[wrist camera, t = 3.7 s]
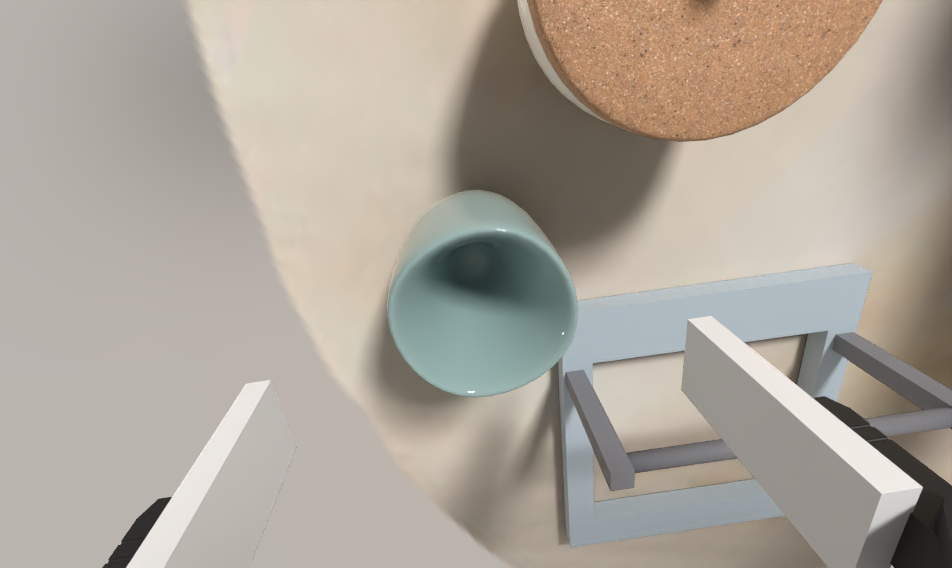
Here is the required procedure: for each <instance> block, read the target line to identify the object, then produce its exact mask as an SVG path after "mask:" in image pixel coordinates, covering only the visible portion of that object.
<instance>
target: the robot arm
mask: <svg viewBox="0 0 952 568" xmlns="http://www.w3.org/2000/svg"><path fill="white" fill-rule="evenodd" d="M681 390H682V391H683V393H684V394H685V395H686V396H687V397H688V399H689V400H690V401H691V402H692V403H693V405H694V406H695V407H696V408H697V409H698V411H699V412H700V413H701V414H702V416H703V417H704V418H705V419H706V420H707V422H708V423H709V424H710V425H711V426H712V428H713V429H714V430H715V431H716V432H717V434H718V435H719V436H720V437H721V439H722V440H723V441H724V442H725V443H726V445H727V446H728V447H729V448H730V449H731V451H732V452H733V453H734V454H735V455H736V457H737V458H738V459H739V460H740V461H741V463H742V464H743V465H744V466H745V468H746V469H747V470H748V471H749V472H750V474H751V475H752V476H753V477H754V478H755V480H756V481H757V482H758V483H759V484H760V486H761V487H762V488H763V489H764V491H765V492H766V493H767V494H768V495H769V497H770V498H771V499H772V500H773V501H774V503H775V504H776V505H777V506H778V507H779V509H780V510H781V511H782V512H783V513H784V515H785V516H786V517H787V518H788V520H789V521H790V522H791V523H792V524H793V526H794V527H795V528H796V529H797V530H798V532H799V533H800V534H801V535H802V536H803V538H804V539H805V540H806V541H807V543H808V544H809V545H810V546H811V547H812V549H813V550H814V551H815V552H816V553H817V555H818V556H819V557H820V558H821V559H822V561H823V562H824V563H825V564H826V565H827V567H828V568H890V567H891V565H892V566H893V567H894V568H952V486H951V485H950V484H949V483H948V482H946V481H945V480H944V479H942V478H941V477H940V476H938V475H937V474H936V473H934V472H933V471H932V470H930V469H929V468H928V467H927V466H925V465H924V464H923V463H921V462H920V461H919V460H917V459H916V458H915V457H913V456H912V455H911V454H909V453H908V452H907V451H905V450H904V449H903V448H902V447H900V446H899V445H898V444H896V443H895V442H894V441H892V440H888V439H887V436H886V435H884V434H883V433H882V432H881V431H879V430H878V429H877V428H875V427H871V426H870V423H869V422H867V421H866V420H865V419H863V418H862V417H861V416H860V415H858V414H857V413H856V412H854V411H853V410H852V409H850V408H849V407H846V406H844V405H842V404H840V403H838V402H836V401H834V400H832V399H830V398H828V397H826V396H822V397H815V398H812V397H811V396H810V395H808V394H807V393H806V392H805V391H803V390H802V389H801V388H800V387H798V386H797V385H796V384H795V383H794V382H792V381H791V380H790V379H789V378H787V377H786V376H785V375H784V374H782V373H781V372H780V371H779V370H777V369H776V368H775V367H774V366H773V365H771V364H770V363H769V362H768V361H766V360H765V359H764V358H763V357H761V356H760V355H759V354H758V353H756V352H755V351H754V350H753V349H752V348H750V347H749V346H748V345H747V344H745V343H744V342H743V341H742V340H740V339H739V338H738V337H737V336H735V335H734V334H733V333H732V332H731V331H729V330H728V329H727V328H726V327H724V326H723V325H722V324H721V323H719V322H718V321H717V320H716V319H714V318H713V317H712V316H707V317H700V318H693V319H688V321H687V332H686V343H685V354H684V365H683V377H682V388H681ZM295 450H296V445H295V443H294V440H293V437H292V435H291V432H290V429H289V427H288V424H287V421H286V418H285V416H284V413H283V410H282V408H281V405H280V402H279V400H278V397H277V394H276V392H275V389H274V386H273V383H272V381H271V380H268V381H261V382H254V383H247V384H246V385H245V386H244V388H243V389H242V391H241V393H240V394H239V395H238V397H237V398H236V400H235V402H234V403H233V405H232V406H231V408H230V409H229V411H228V412H227V414H226V415H225V417H224V419H223V420H222V421H221V423H220V425H219V426H218V428H217V429H216V431H215V432H214V434H213V435H212V437H211V438H210V440H209V441H208V443H207V444H206V446H205V448H204V449H203V451H202V452H201V454H200V455H199V457H198V458H197V460H196V461H195V463H194V464H193V466H192V468H191V469H190V471H189V472H188V474H187V475H186V477H185V478H184V480H183V481H182V483H181V484H180V486H179V488H178V489H177V491H176V492H175V494H174V495H173V497H168V498H162V499H158V500H157V501H156V502H155V503H154V504H152V505H151V506H150V507H149V508H148V509H147V510H146V511H145V512H144V513H143V514H142V515H141V516H139V517H138V518H137V519H136V521H135V522H134V524H133V525H132V527H131V528H130V530H129V531H128V532H127V534H126V535H125V536H124V538H123V540H122V544H121V545H118V547H117V548H116V549H115V551H114V552H113V554H112V555H111V556H110V558H109V562H108V564H105V565H104V566H103V568H249V567H250V565H251V562H252V560H253V557H254V555H255V552H256V549H257V547H258V544H259V542H260V539H261V537H262V534H263V531H264V529H265V527H266V524H267V521H268V519H269V516H270V514H271V511H272V509H273V506H274V503H275V501H276V499H277V496H278V493H279V491H280V488H281V486H282V483H283V480H284V478H285V476H286V473H287V470H288V468H289V465H290V463H291V460H292V458H293V455H294V453H295Z"/></svg>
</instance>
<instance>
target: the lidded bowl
mask: <svg viewBox="0 0 952 568" xmlns="http://www.w3.org/2000/svg"><path fill="white" fill-rule="evenodd" d="M881 2H882V0H517V3H518V10H519V15H520V19H521V22H522V26H523V29H524V33H525V36H526V39H527V42H528V44H529V46H530V48H531V50H532V53H533V55H534V57H535V59H536V61H537V63H538V64H539V66H540V67H541V69H542V70H543V72H544V73H545V75H546V76H547V78H548V79H549V80H550V81H551V83H552V84H553V85H554V86H555V87H556V88H557V89H558V90H559V91H560V92H561V93H562V95H564V96H565V97H566V98H568V99H569V100H570V101H571V102H573V103H574V104H575V105H577V106H578V107H579V108H581V109H582V110H583V111H585V112H587V113H589V114H591V115H593V116H595V117H597V118H598V119H600V120H602V121H605V122H608V123H611V124H613V125H615V126H617V127H619V128H621V129H623V130H626V131H629V132H632V133H635V134H639V135H642V136H645V137H649V138H653V139H661V140H670V141H679V142H683V141H701V140H709V139H713V138H718V137H722V136H727V135H731V134H734V133H737V132H739V131H742V130H745V129H747V128H750V127H752V126H755V125H758V124H759V123H761V122H763V121H765V120H767V119H768V118H770V117H772V116H774V115H776V114H778V113H779V112H781V111H783V110H784V109H786V108H787V107H789V106H790V105H791V104H793V103H794V102H795V101H797V100H798V99H799V98H801V97H802V96H804V95H805V94H806V93H808V92H809V91H810V90H811V89H812V88H813V87H814V86H815V85H816V84H817V83H818V82H820V81H821V80H822V79H823V78H824V77H825V76H826V75H827V74H828V73H829V72H830V71H831V70H832V69H833V68H834V67H835V66H836V65H837V63H838V62H839V61H840V60H841V59H842V58H843V57H844V55H845V54H846V53H847V52H848V51H849V50H850V48H851V47H852V46H853V45H854V44H855V43H856V41H857V40H858V38H859V37H860V35H861V34H862V32H863V31H864V29H865V28H866V26H867V25H868V23H869V22H870V20H871V19H872V17H873V16H874V14H875V13H876V11H877V9H878V8H879V6H880V4H881Z"/></svg>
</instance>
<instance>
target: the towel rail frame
mask: <svg viewBox="0 0 952 568" xmlns="http://www.w3.org/2000/svg"><path fill="white" fill-rule="evenodd" d="M871 276H872V271H870V270H868V269H865V268H863V267H860V266H858V265H856V264H853V263H850V264H843V265H835V266H828V267H821V268H813V269H806V270H799V271H791V272H784V273H777V274H770V275H762V276H755V277H748V278H740V279H733V280H726V281H718V282H711V283H704V284H696V285H689V286H682V287H674V288H667V289H660V290H653V291H645V292H638V293H631V294H623V295H616V296H609V297H601V298H594V299H587V300H579V301H577V303H578V323H577V328H576V331H575V334H574V338H573V341H572V342H571V344H570V346H569V347H568V349H567V351H566V352H565V354H564V355H563V356H562V357H561V358H560V359H559V361H558V378H559V399H560V420H561V441H562V462H563V483H564V504H565V525H566V533H567V537H568V541H569V544H570V547H577V546H584V545H591V544H597V543H604V542H611V541H618V540H625V539H631V538H638V537H645V536H652V535H659V534H665V533H672V532H679V531H686V530H693V529H699V528H706V527H713V526H720V525H727V524H734V523H740V522H747V521H754V520H761V519H768V518H774V517H781V516H785V515H784V513H783V512H782V511H781V510H780V509H779V507H778V506H777V505H776V504H775V503H774V501H773V500H772V499H771V498H770V497H769V495H768V494H767V493H766V492H765V491H764V489H763V488H762V487H761V486H760V484H759V483H758V482H757V481H756V480H755V479H751V480H744V481H737V482H730V483H723V484H716V485H709V486H702V487H696V488H689V489H682V490H675V491H668V492H661V493H654V494H647V495H640V496H634V497H627V498H620V499H613V500H606V501H599V502H594V460H593V451H594V453H595V455H596V458H597V460H598V463H599V465H600V467H601V470H602V472H603V474H604V477H605V479H606V482H607V484H608V486H609V489H610V491H615V490H622V489H629V488H634V478H635V473H639V472H646V471H653V470H660V469H667V468H673V467H680V466H687V465H694V464H701V463H708V462H715V461H722V460H729V459H736V458H737V457H736V455H735V454H734V453H733V452H732V451H731V449H730V448H729V447H728V446H727V445H726V443H725V442H724V441H723V440H722V439H719V440H712V441H705V442H699V443H692V444H685V445H678V446H671V447H664V448H657V449H650V450H643V451H636V452H629V453H626V452H625V450H624V448H623V446H622V444H621V442H620V440H619V438H618V436H617V434H616V432H615V430H614V428H613V426H612V424H611V422H610V420H609V418H608V416H607V414H606V412H605V410H604V408H603V406H602V404H601V402H600V401H599V399H598V397H597V395H596V393H595V391H594V389H593V363H599V362H606V361H613V360H620V359H628V358H635V357H642V356H649V355H656V354H663V353H671V352H678V351H685V343H686V332H687V321H688V319H693V318H700V317H707V316H712V317H713V318H714V319H716V320H717V321H718V322H719V323H721V324H722V325H723V326H724V327H726V328H727V329H728V330H729V331H731V332H732V333H733V334H734V335H735V336H737V337H738V338H739V339H740V340H742V341H743V342H749V341H757V340H764V339H771V338H778V337H785V336H792V335H800V334H807V333H808V337H807V341H806V346H805V350H804V355H803V359H802V364H801V368H800V372H799V377H798V381H797V386H798V387H800V388H801V389H802V390H803V391H805V392H806V393H807V394H808V395H810V396H811V397H812V398H815V397H822V396H826V397H828V398H830V399H832V400H834V401H836V402H837V400H838V396H839V392H840V389H841V385H842V381H843V378H844V374H845V370H846V367H847V363H848V360H849V361H850V362H852V363H853V364H855V365H856V366H858V367H859V368H861V369H862V370H864V371H865V372H867V373H868V374H870V375H871V376H873V377H874V378H876V379H877V380H879V381H880V382H882V383H883V384H885V385H886V386H888V387H889V388H891V389H892V390H894V391H895V392H897V393H898V394H900V395H901V396H903V397H904V398H906V399H907V400H909V401H910V402H912V403H913V404H915V405H916V406H918V407H919V408H921V409H922V411H915V412H908V413H901V414H894V415H887V416H880V417H873V418H866V419H865V420H866V421H867V422H869V423H870V426H871V427H875V428H877V429H878V430H879V431H881V432H882V433H883V434H884V435H886V436H887V437H888V436H895V435H902V434H909V433H916V432H923V431H930V430H937V429H944V428H951V429H952V390H951V389H949V388H948V387H946V386H944V385H943V384H941V383H939V382H937V381H936V380H934V379H932V378H931V377H929V376H927V375H926V374H924V373H922V372H920V371H919V370H917V369H915V368H914V367H912V366H910V365H909V364H907V363H905V362H903V361H902V360H900V359H898V358H897V357H895V356H893V355H892V354H890V353H888V352H886V351H885V350H883V349H881V348H880V347H878V346H876V345H875V344H873V343H871V342H869V341H868V340H866V339H864V338H863V337H861V336H859V335H858V334H856V330H857V327H858V323H859V320H860V316H861V312H862V309H863V305H864V301H865V298H866V294H867V290H868V287H869V283H870V280H871Z"/></svg>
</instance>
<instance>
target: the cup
mask: <svg viewBox="0 0 952 568" xmlns="http://www.w3.org/2000/svg"><path fill="white" fill-rule="evenodd" d="M387 316H388V324H389V329H390V332H391V335H392V337H393V340H394V343H395V345H396V347H397V349H398V350H399V352H400V354H401V356H402V357H403V359H404V360H405V361H406V362H407V364H408V365H409V366H410V367H411V368H412V369H413V371H414V372H415V373H417V374H418V375H419V376H420V377H422V378H423V379H424V380H425V381H426V382H428V383H430V384H431V385H433V386H435V387H437V388H439V389H440V390H442V391H445V392H448V393H452V394H455V395H458V396H467V397H484V396H493V395H497V394H502V393H506V392H509V391H512V390H514V389H517V388H520V387H522V386H524V385H526V384H528V383H530V382H532V381H534V380H535V379H537V378H539V377H540V376H542V375H543V374H544V373H545V372H547V371H548V370H549V369H551V368H552V367H553V366H554V365H555V364H556V363H557V362H558V361H559V359H560V358H561V357H562V356H563V355H564V354H565V352H566V351H567V349H568V347H569V346H570V344H571V342H572V341H573V338H574V334H575V331H576V328H577V323H578V303H577V296H576V290H575V287H574V284H573V282H572V279H571V276H570V273H569V271H568V269H567V267H566V266H565V264H564V262H563V261H562V259H561V257H560V256H559V254H558V252H557V250H556V249H555V247H554V246H553V245H552V243H551V242H550V240H549V239H548V238H547V236H546V235H545V234H544V232H543V231H542V230H541V228H540V227H539V226H538V225H537V224H536V223H535V221H534V220H533V219H532V218H531V217H530V216H529V215H528V214H527V212H526V211H525V210H523V209H522V208H521V207H520V206H518V205H517V204H516V203H514V202H513V201H512V200H510V199H509V198H507V197H505V196H502V195H500V194H498V193H496V192H492V191H486V190H466V191H462V192H458V193H454V194H452V195H449V196H447V197H445V198H443V199H440V200H439V201H437V202H436V203H434V204H433V205H431V206H430V207H428V208H427V209H426V210H425V211H424V212H423V213H422V214H421V215H420V216H419V217H418V218H417V219H416V221H415V222H414V223H413V225H412V226H411V228H410V229H409V230H408V232H407V234H406V236H405V238H404V241H403V243H402V246H401V248H400V250H399V253H398V256H397V259H396V262H395V265H394V269H393V273H392V276H391V280H390V285H389V292H388V300H387Z"/></svg>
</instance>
